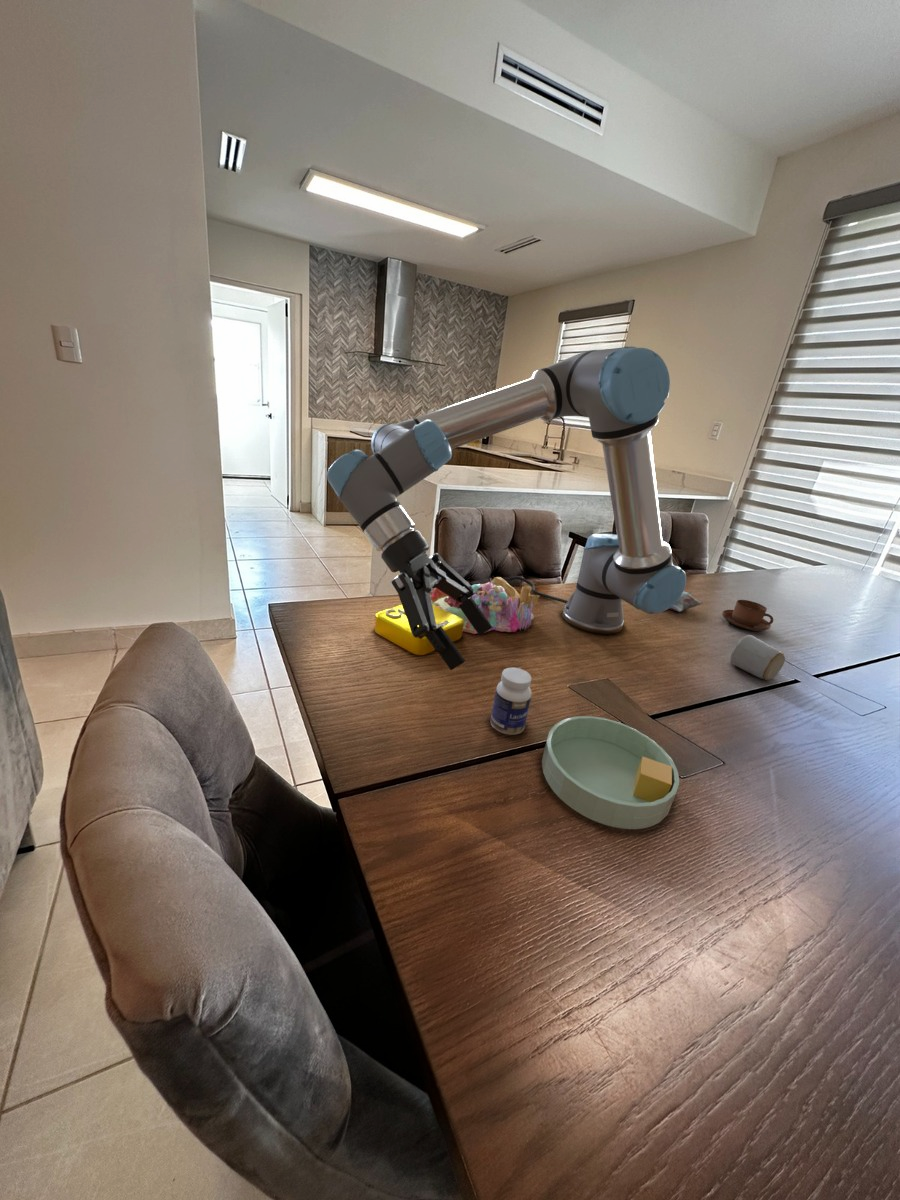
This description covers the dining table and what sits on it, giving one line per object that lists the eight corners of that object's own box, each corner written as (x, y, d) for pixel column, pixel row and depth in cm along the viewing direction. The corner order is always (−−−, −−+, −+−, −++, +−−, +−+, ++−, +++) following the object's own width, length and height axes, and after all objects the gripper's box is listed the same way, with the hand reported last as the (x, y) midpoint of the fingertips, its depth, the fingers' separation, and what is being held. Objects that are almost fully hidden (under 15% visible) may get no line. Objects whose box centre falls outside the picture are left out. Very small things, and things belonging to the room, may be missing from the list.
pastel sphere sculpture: (480, 589, 134) (484, 559, 131) (549, 620, 120) (556, 586, 116) (415, 609, 117) (418, 574, 114) (487, 647, 103) (493, 609, 99)
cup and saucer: (768, 625, 135) (776, 605, 132) (768, 639, 125) (777, 618, 123) (721, 612, 140) (729, 593, 138) (718, 624, 130) (726, 604, 128)
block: (633, 795, 66) (640, 773, 64) (634, 777, 69) (642, 756, 68) (663, 807, 64) (671, 784, 63) (663, 788, 68) (671, 766, 66)
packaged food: (699, 610, 139) (704, 595, 137) (678, 617, 132) (683, 601, 130) (672, 600, 145) (676, 585, 143) (650, 606, 138) (655, 590, 136)
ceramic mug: (762, 685, 101) (776, 654, 98) (725, 666, 107) (737, 636, 104) (785, 676, 106) (799, 646, 104) (749, 658, 113) (761, 630, 110)
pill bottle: (510, 742, 74) (520, 689, 70) (483, 724, 78) (491, 672, 74) (531, 727, 78) (541, 676, 74) (504, 710, 82) (513, 661, 78)
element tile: (419, 658, 95) (421, 637, 93) (370, 630, 104) (371, 611, 102) (465, 637, 106) (468, 618, 104) (418, 614, 115) (419, 596, 113)
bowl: (516, 766, 69) (521, 742, 68) (587, 725, 81) (593, 703, 79) (625, 857, 57) (635, 830, 55) (692, 793, 68) (702, 769, 67)
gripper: (416, 537, 89) (480, 628, 90) (339, 574, 67) (425, 693, 68) (444, 515, 85) (511, 610, 86) (373, 545, 64) (463, 672, 65)
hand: (473, 647), depth 77 cm, fingers open, 13 cm apart
